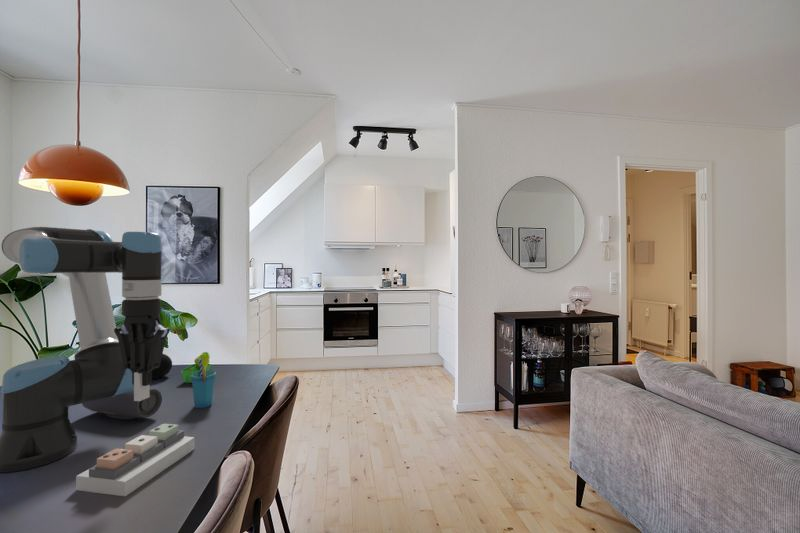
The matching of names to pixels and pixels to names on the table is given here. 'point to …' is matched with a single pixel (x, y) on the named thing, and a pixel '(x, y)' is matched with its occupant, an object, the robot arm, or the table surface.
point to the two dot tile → (164, 431)
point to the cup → (203, 386)
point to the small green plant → (196, 367)
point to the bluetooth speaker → (127, 405)
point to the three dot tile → (114, 459)
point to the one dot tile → (142, 444)
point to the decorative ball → (162, 367)
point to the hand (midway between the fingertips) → (141, 398)
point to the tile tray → (136, 468)
